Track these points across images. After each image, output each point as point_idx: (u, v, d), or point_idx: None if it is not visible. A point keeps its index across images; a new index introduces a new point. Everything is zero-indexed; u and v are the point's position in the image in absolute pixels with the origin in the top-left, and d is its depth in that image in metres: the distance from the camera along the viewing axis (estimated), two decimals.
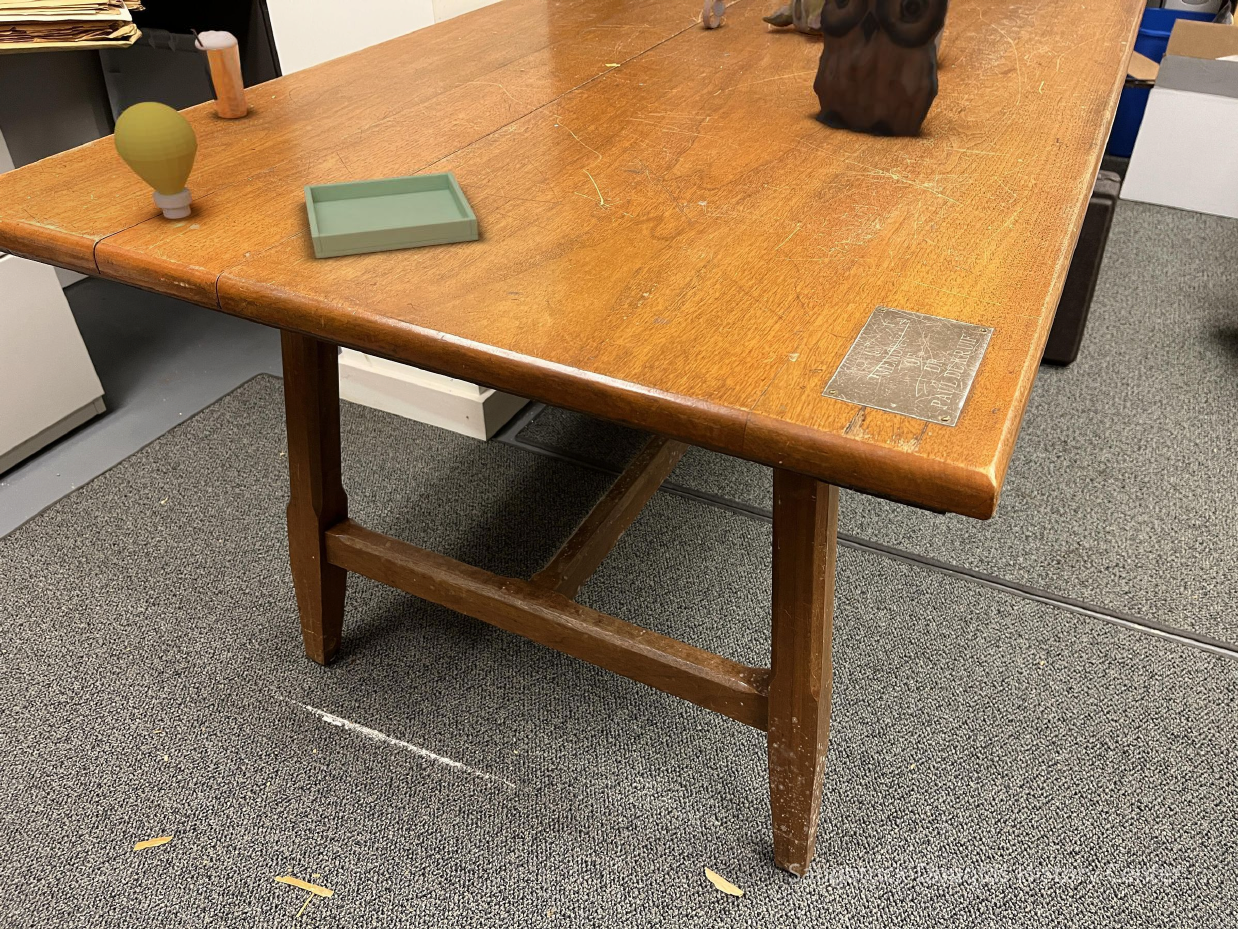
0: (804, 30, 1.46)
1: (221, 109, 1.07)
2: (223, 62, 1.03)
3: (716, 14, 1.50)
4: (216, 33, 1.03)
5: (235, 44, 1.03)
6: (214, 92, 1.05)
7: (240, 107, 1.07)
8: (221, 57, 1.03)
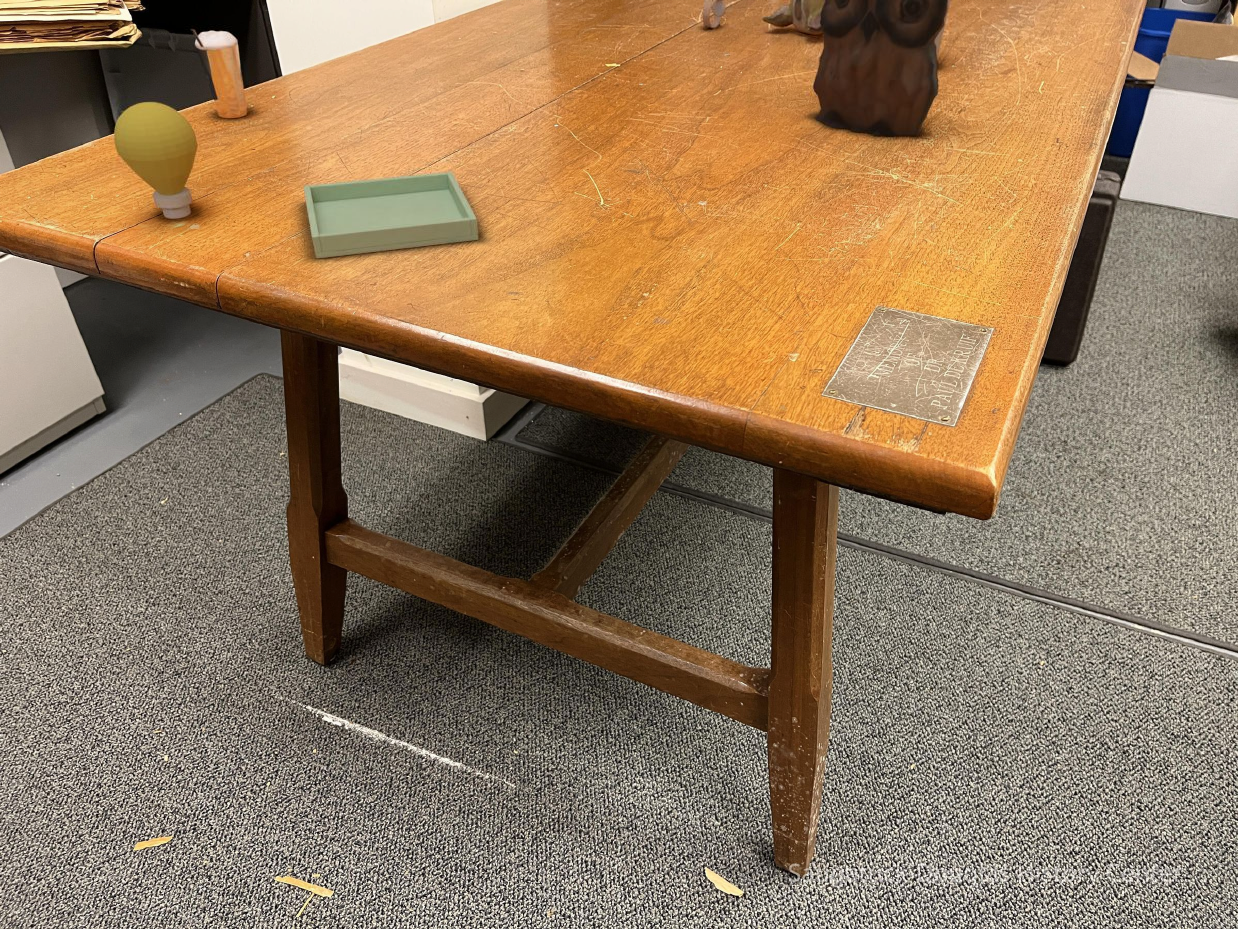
0: (804, 30, 1.46)
1: (221, 109, 1.07)
2: (223, 62, 1.03)
3: (716, 14, 1.50)
4: (216, 33, 1.03)
5: (235, 44, 1.03)
6: (214, 92, 1.05)
7: (240, 107, 1.07)
8: (221, 57, 1.03)
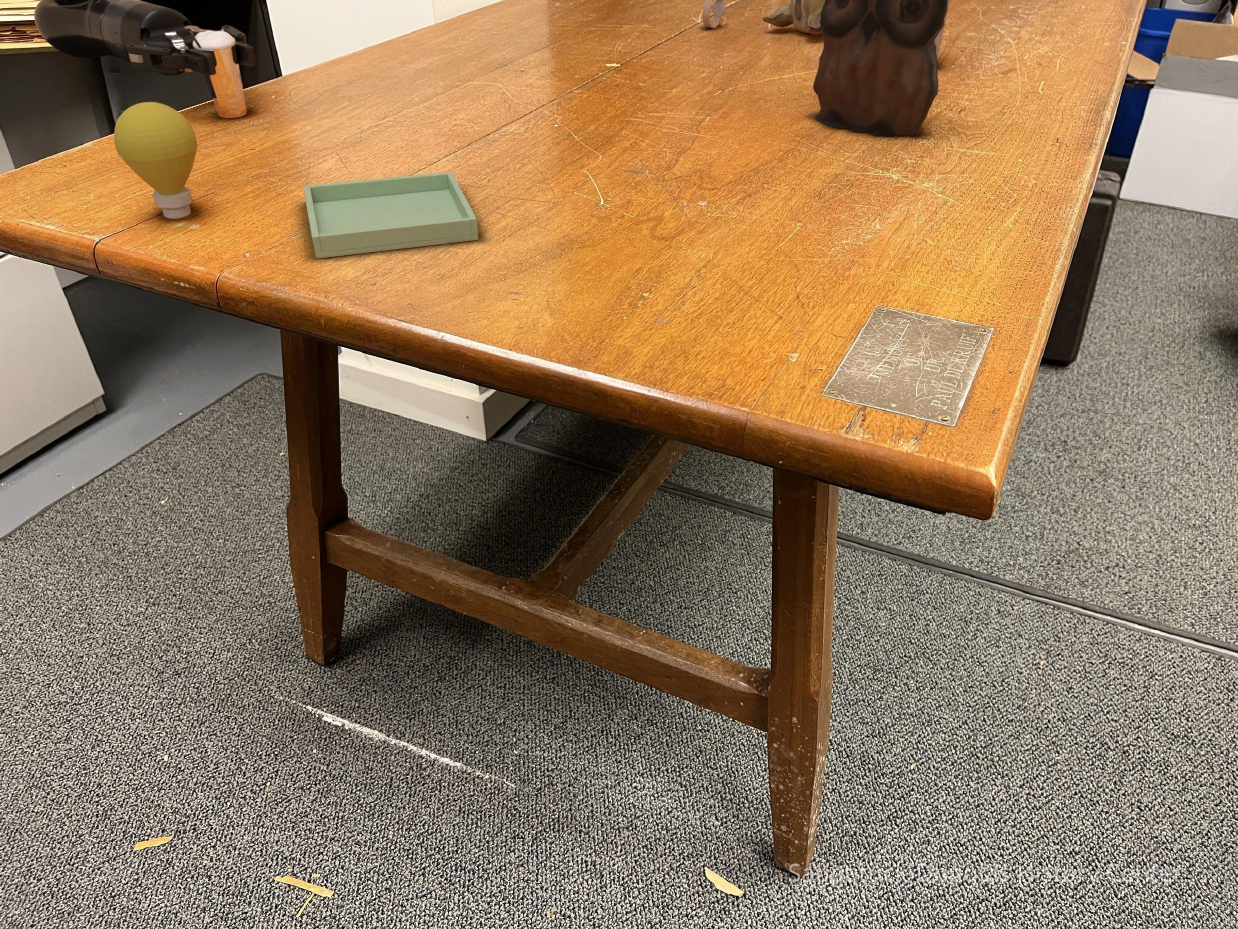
0: (804, 30, 1.46)
1: (221, 109, 1.07)
2: (221, 63, 1.03)
3: (716, 14, 1.50)
4: (213, 33, 1.03)
5: (233, 44, 1.03)
6: (213, 92, 1.05)
7: (240, 107, 1.07)
8: (219, 58, 1.02)
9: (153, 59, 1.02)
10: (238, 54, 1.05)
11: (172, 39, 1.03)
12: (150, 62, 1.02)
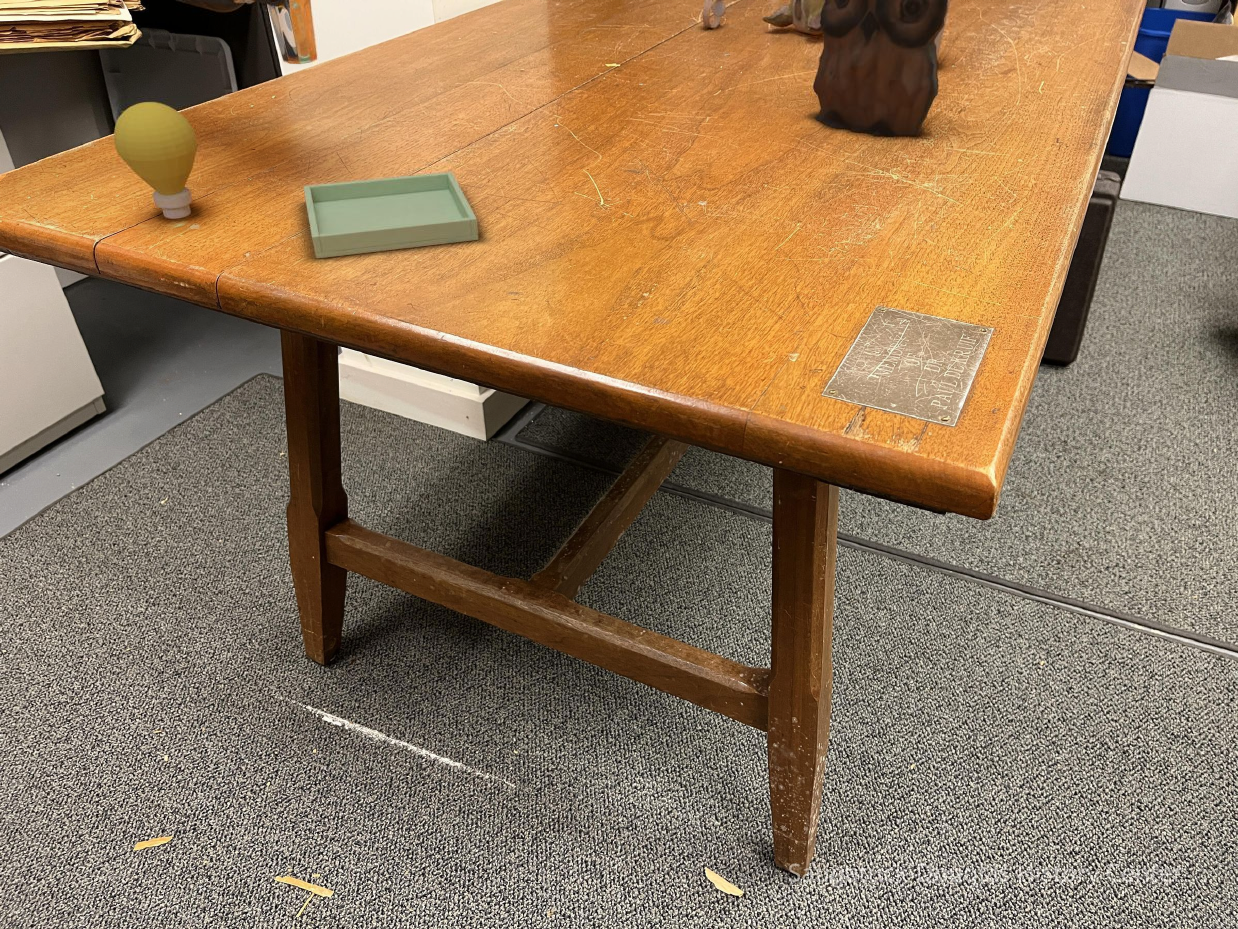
0: (804, 30, 1.46)
1: (287, 52, 0.85)
2: None
3: (716, 14, 1.50)
4: None
5: None
6: (278, 30, 0.84)
7: (310, 50, 0.86)
8: None
9: None
10: None
11: None
12: None
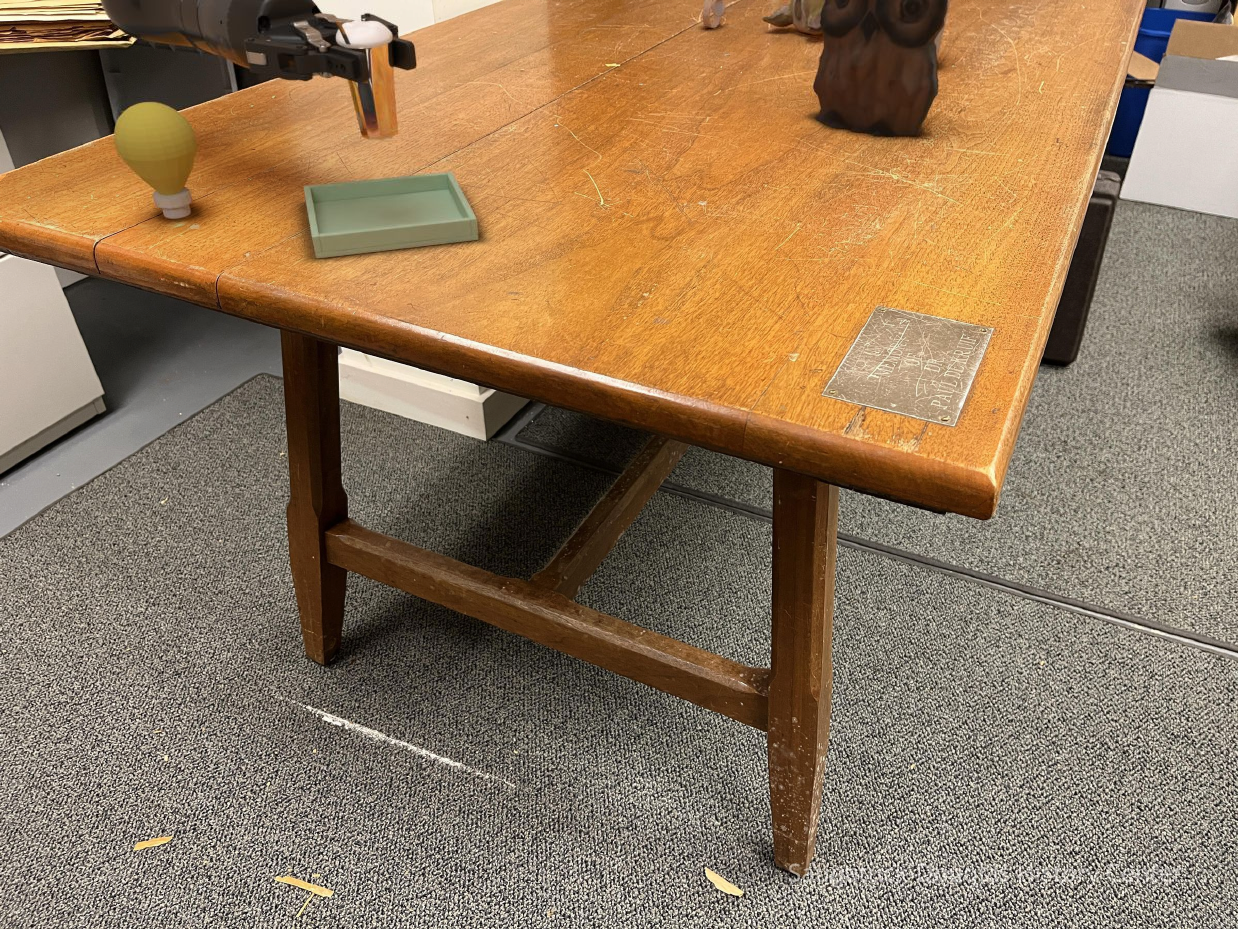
0: (804, 30, 1.46)
1: (367, 128, 0.78)
2: (375, 65, 0.74)
3: (716, 14, 1.50)
4: (364, 24, 0.74)
5: (391, 39, 0.74)
6: (359, 106, 0.77)
7: (391, 125, 0.79)
8: (373, 59, 0.74)
9: (281, 60, 0.74)
10: (393, 53, 0.77)
11: (306, 32, 0.75)
12: (277, 64, 0.74)
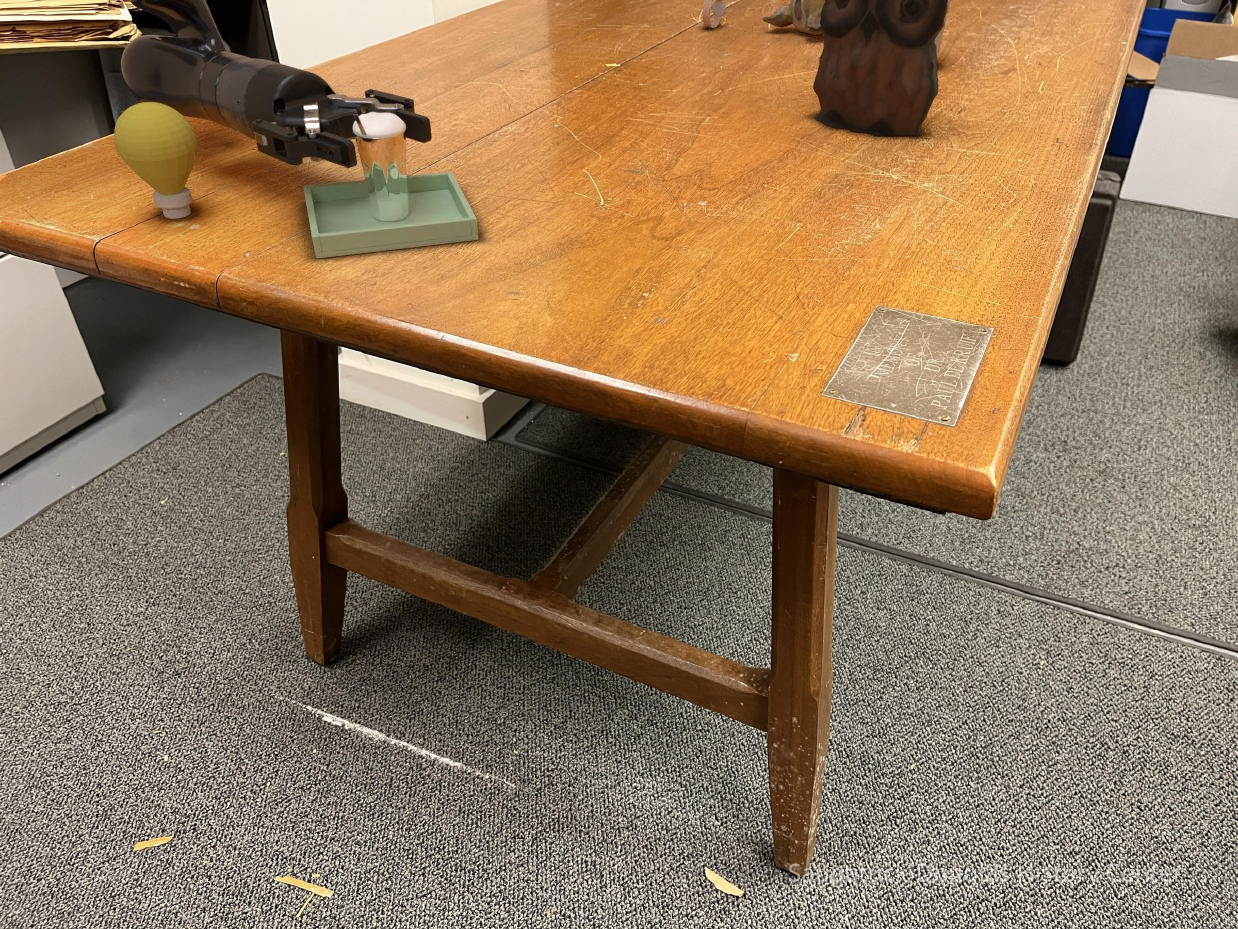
0: (804, 30, 1.46)
1: (379, 211, 0.83)
2: (389, 154, 0.79)
3: (716, 14, 1.50)
4: (380, 116, 0.79)
5: (404, 130, 0.79)
6: (372, 190, 0.81)
7: (403, 207, 0.83)
8: (387, 148, 0.79)
9: (278, 143, 0.78)
10: (410, 127, 0.82)
11: (306, 117, 0.78)
12: (273, 147, 0.78)
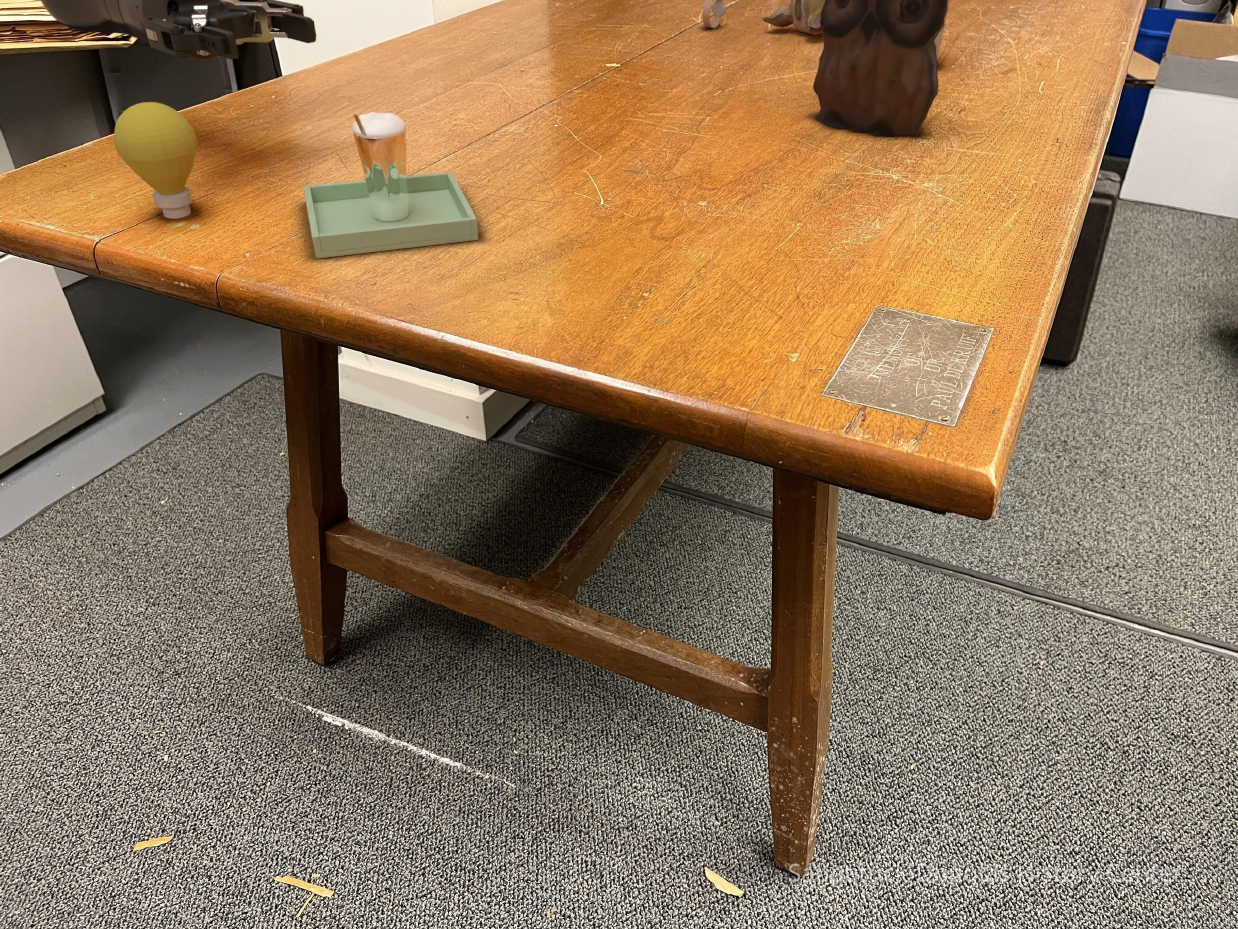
0: (804, 30, 1.46)
1: (379, 211, 0.83)
2: (389, 154, 0.79)
3: (716, 14, 1.50)
4: (380, 116, 0.79)
5: (404, 130, 0.79)
6: (372, 190, 0.81)
7: (403, 207, 0.83)
8: (387, 148, 0.79)
9: (166, 37, 0.83)
10: (296, 28, 0.88)
11: (194, 14, 0.84)
12: (162, 41, 0.83)
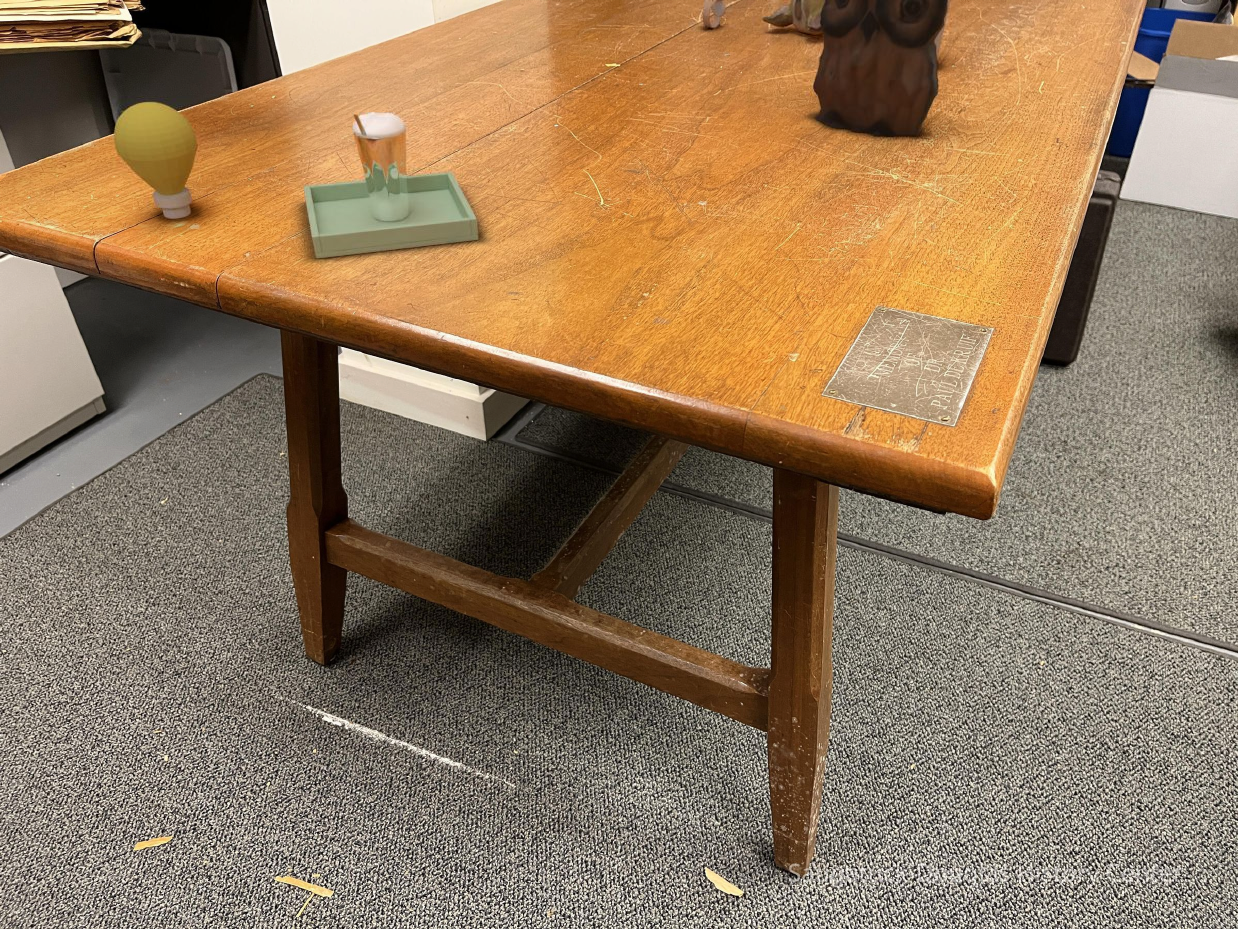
0: (804, 30, 1.46)
1: (379, 211, 0.83)
2: (389, 154, 0.79)
3: (716, 14, 1.50)
4: (380, 116, 0.79)
5: (404, 130, 0.79)
6: (372, 190, 0.81)
7: (403, 207, 0.83)
8: (387, 148, 0.79)
9: None
10: None
11: None
12: None
